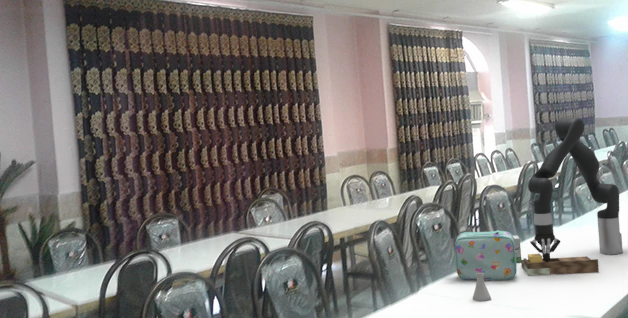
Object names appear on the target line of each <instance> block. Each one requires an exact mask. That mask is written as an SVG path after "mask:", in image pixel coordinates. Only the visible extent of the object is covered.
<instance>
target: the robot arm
mask: <svg viewBox="0 0 628 318" xmlns="http://www.w3.org/2000/svg"><path fill="white" fill-rule="evenodd" d="M554 131H555V133H556V135H557V137H558V138H559V140H560V141H561V142H560V143H559V144H558V145H557V146H556V147H554V148H553V149H552V150H551V151H550V152H549V153H548V154H547V155H546V156H545V158H544V160H543V162H542V163H541V166H540V168H538V169H537V170H536V172H535V173H534V174H533V175H532V176H531V177H530V179H529V181H528V184H527V188H528V190H529V192H530V193H532V194H535V195H536V194H537V195H539V197H538V198H537V199H534V200H533V204H532V205H533V225H534V234H535V236H534V238H533V240H530V241H529V243H530V245H531V246H532V247H533V248H534V249H535V250H536V251H537V252H538V253H539V254H540V253H541V256H542V259H543V260H544V261H545V262H549V260H550V258H551V253H554V251H555V250H556V249H557V248H558V246H559V245H560V243H561V240H559V239H558V238H556V236H555V234H554V233H555V232H554V224H553V215H552V208H551V201H552V196H553V191H554V185H553V182H552V181H551V180H550V179H551V178H554V177H555V176H556V174H557V173H558V171H559V169H560V167H561V165H562V164H563V161H564V160H565V158H566V157H567V156H568V154H570V156H571V157H572V159H573V161H574V163H575V166H576V167H577V169H578V170H579V171H580V175H582V178H583V179H584V181H585V183H586V185H587V186H586V187H587V188H588V190H589V193H590V196H591V197H592V198H591V199H593V200H594V201H595V202H596V203H597V204H598V203H599V204H606V207H605V208H604V209H600V210H598V211H597V212H596V214H597V215H596V216H597V228H598V231H597V232H598V245H599V252H600V253H599V254H603V255H619V254H623V251H624V250H623V237H622V233H621V230H620V216H619V215H620V192H619V191H620V190H619V188H618V186H617V185H616V184H615V183H614V184H613V183H601V182H600V181H599V179H598V173H599V170H600V162H599V159H598V158H597V156H596V154H595V153H594V151H593V150H592V149H591V148H589V147H588V146H587V145H586V144H584V143H583V142H581V141H580V138H581V137H582V136H583V133H584V131H585V122H584V121H583V119H581V118H578V117H562V118H558V119H557V120H556V122H555V124H554ZM537 243H538V245H540V247H541V248H540V247H538V246H537Z"/></svg>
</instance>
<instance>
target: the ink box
mask: <svg viewBox="0 0 628 318" xmlns="http://www.w3.org/2000/svg"><path fill="white" fill-rule="evenodd" d="M512 236H513V238H514V244H515V248H516V249H515V251H517V253H518V255H519V256H518V255H517V254H516V263H517V264H518V263H520V264H521V260H522V249H521V248H522V247H521V239H520V237H519V235H518V234H517V235H513V234H512Z"/></svg>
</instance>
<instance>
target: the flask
mask: <svg viewBox="0 0 628 318" xmlns="http://www.w3.org/2000/svg"><path fill="white" fill-rule="evenodd" d="M476 276H477V279H476V284H475V289H474V292H473V295H472V300H474V301H476V302H486V301H491V300H492V297H491V294H490V292H489V290H488V288H487V286H486V283H485V280H484V278H483V276H484V274H483V273H477V274H476Z"/></svg>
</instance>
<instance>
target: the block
mask: <svg viewBox="0 0 628 318" xmlns="http://www.w3.org/2000/svg"><path fill="white" fill-rule="evenodd" d="M542 259H543V255H542V254H540V253H530V254H527V260H528V262H529V263H536V262H542Z"/></svg>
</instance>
